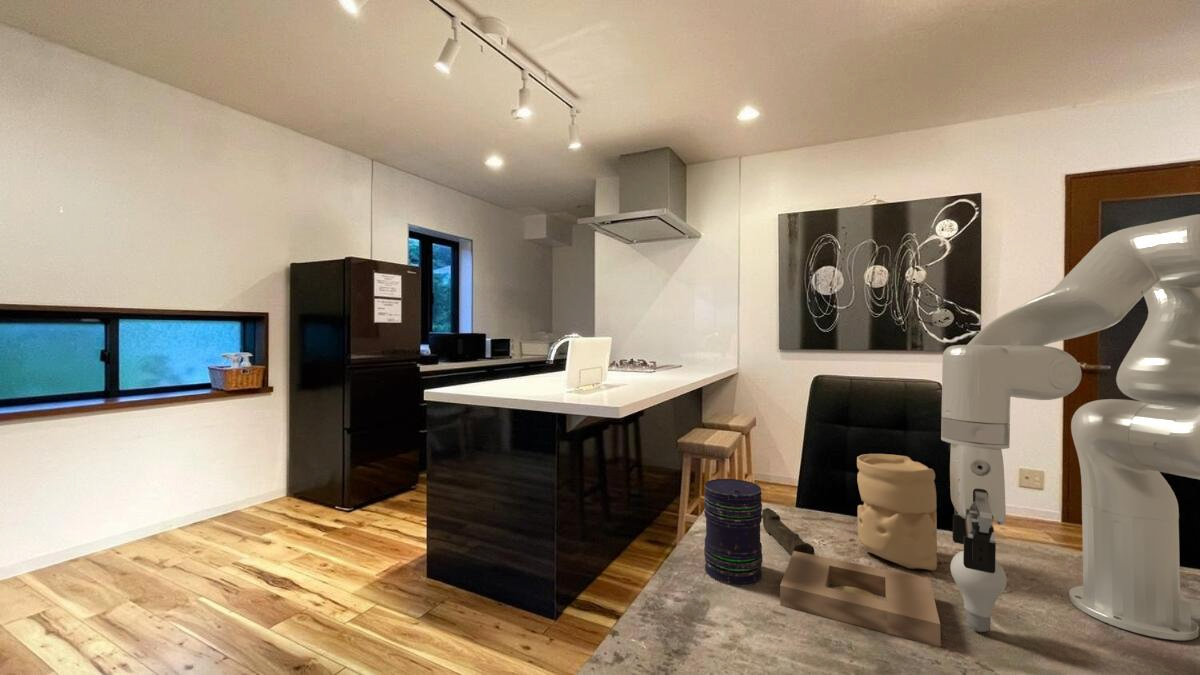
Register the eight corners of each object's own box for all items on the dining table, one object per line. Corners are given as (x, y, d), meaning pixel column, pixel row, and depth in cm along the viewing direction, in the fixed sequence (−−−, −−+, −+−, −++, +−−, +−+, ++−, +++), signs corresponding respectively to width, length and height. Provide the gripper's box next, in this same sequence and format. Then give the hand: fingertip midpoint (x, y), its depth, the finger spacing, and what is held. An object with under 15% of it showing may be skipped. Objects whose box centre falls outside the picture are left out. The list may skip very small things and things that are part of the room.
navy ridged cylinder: (699, 558, 88) (699, 478, 88) (752, 559, 87) (752, 478, 88) (710, 585, 78) (710, 495, 78) (770, 586, 77) (770, 495, 78)
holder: (929, 597, 74) (929, 578, 74) (940, 647, 62) (940, 624, 62) (793, 567, 84) (793, 550, 84) (780, 604, 72) (780, 585, 72)
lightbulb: (941, 624, 67) (940, 546, 67) (967, 614, 69) (966, 539, 70) (990, 649, 61) (989, 564, 62) (1017, 638, 64) (1016, 556, 64)
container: (912, 544, 94) (911, 454, 94) (953, 575, 81) (952, 471, 82) (846, 542, 95) (845, 452, 95) (877, 572, 82) (876, 469, 83)
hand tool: (815, 566, 85) (815, 540, 85) (793, 566, 85) (793, 540, 85) (776, 526, 104) (776, 505, 104) (758, 526, 104) (758, 505, 104)
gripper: (1027, 446, 57) (1024, 590, 56) (994, 428, 71) (993, 541, 71) (949, 438, 60) (947, 573, 60) (934, 422, 75) (932, 530, 75)
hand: (972, 556), depth 65 cm, fingers open, 9 cm apart
